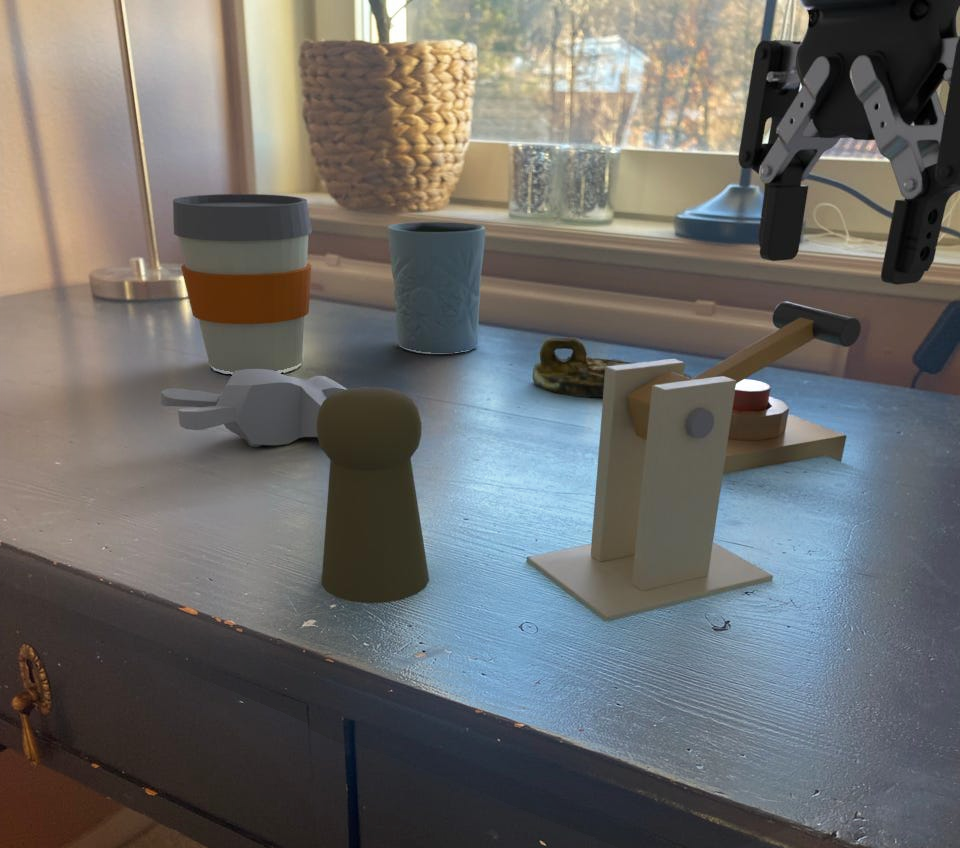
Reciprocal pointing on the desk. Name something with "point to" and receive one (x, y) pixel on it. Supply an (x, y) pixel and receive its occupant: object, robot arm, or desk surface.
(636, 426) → the lever
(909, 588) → the desk surface
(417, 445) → the cork
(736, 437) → the button block
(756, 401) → the button
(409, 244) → the blue embossed cup
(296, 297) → the reusable coffee cup
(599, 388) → the seal
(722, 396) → the bracket
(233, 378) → the bunny figurine
